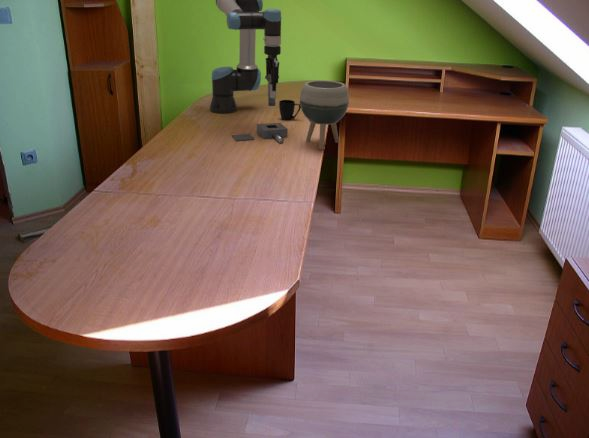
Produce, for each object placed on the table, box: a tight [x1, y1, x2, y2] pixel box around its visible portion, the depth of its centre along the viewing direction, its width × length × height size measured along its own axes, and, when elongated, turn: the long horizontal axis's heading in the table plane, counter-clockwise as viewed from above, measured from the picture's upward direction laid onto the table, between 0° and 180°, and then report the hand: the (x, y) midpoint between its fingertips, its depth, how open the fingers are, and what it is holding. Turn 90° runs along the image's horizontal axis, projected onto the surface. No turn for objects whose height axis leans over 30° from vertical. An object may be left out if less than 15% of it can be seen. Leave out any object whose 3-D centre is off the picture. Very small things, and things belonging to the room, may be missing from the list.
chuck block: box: [256, 122, 288, 144], centre depth 260 cm, size 21×12×4 cm, turn 20°
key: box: [264, 74, 280, 107], centre depth 255 cm, size 3×6×14 cm, turn 110°
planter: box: [299, 79, 350, 151], centre depth 247 cm, size 22×22×28 cm
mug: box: [278, 99, 301, 121], centre depth 290 cm, size 8×12×10 cm
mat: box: [231, 133, 256, 142], centre depth 258 cm, size 9×9×1 cm
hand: (271, 96), depth 257 cm, fingers closed on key, 3 cm apart
